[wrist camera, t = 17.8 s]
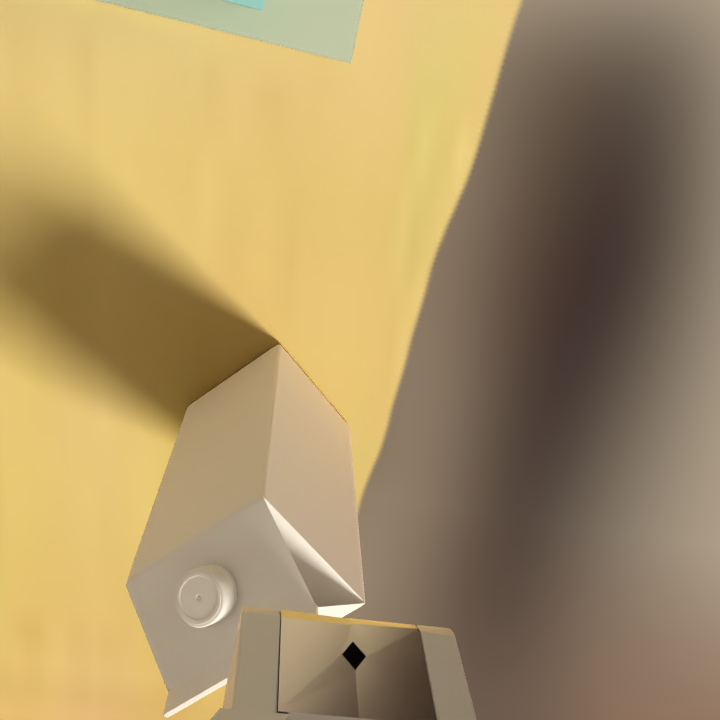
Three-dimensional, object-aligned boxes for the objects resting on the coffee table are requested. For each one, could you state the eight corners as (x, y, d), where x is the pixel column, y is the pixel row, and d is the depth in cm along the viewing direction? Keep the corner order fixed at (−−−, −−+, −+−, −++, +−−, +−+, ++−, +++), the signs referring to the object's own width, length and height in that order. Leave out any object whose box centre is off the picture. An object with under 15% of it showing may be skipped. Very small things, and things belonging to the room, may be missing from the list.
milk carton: (350, 425, 43) (374, 684, 26) (260, 483, 44) (225, 765, 27) (279, 341, 40) (252, 566, 23) (186, 405, 42) (95, 663, 24)
